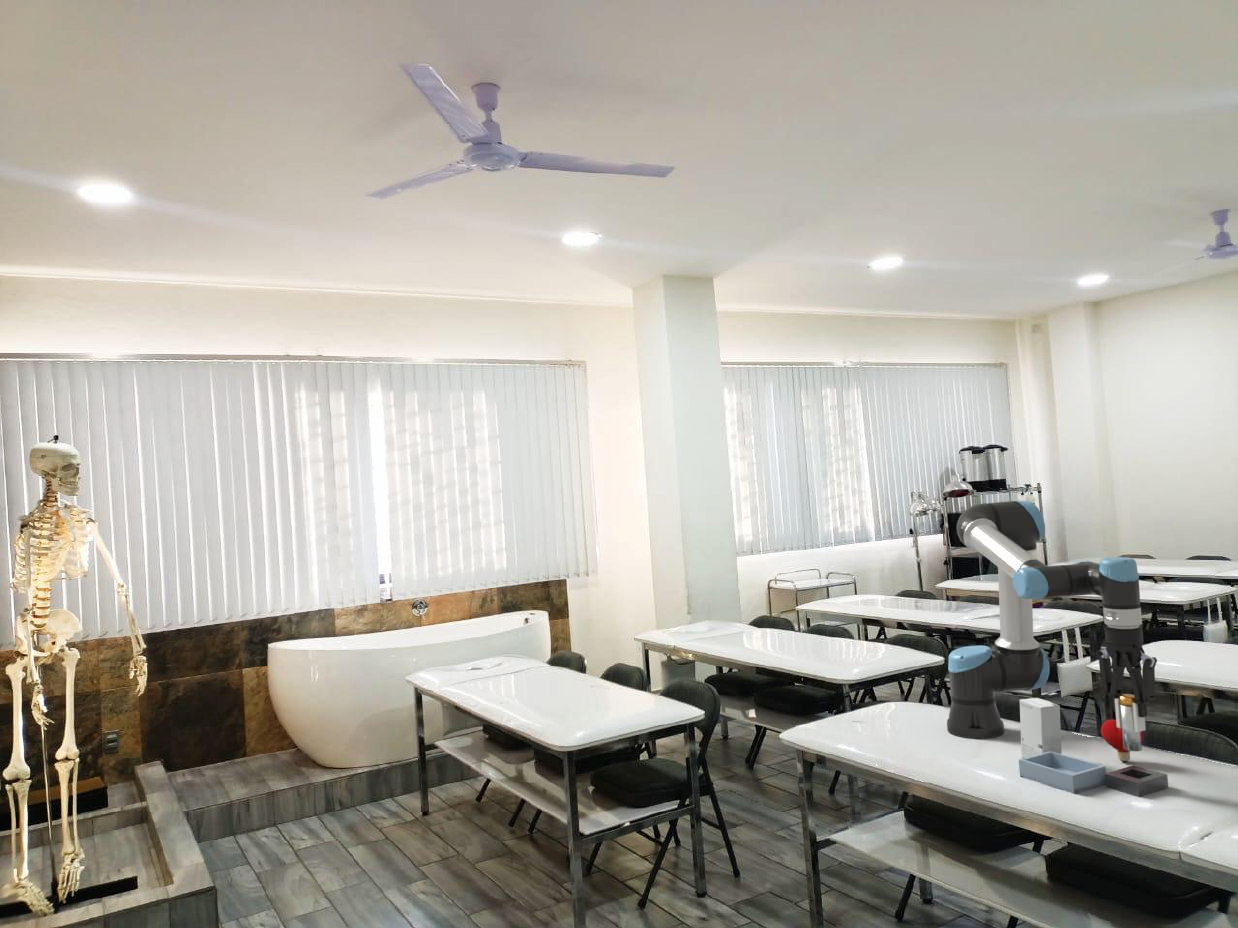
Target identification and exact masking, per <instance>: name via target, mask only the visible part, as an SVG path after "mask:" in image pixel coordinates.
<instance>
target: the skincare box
mask: <svg viewBox="0 0 1238 928" xmlns="http://www.w3.org/2000/svg"><path fill="white" fill-rule="evenodd" d="M1019 717H1020V718H1019V719H1020V721H1019V722H1020V724H1019V725H1020V752H1021V754H1020V755H1021V758H1022V759H1023V758H1026V757H1030V756H1034V755H1038V754H1041V753H1045V752H1049V751H1053V752H1056V753H1060V754H1062V753H1063V751H1062V733H1061V731H1062V729H1061V728H1062V727H1061V706H1060V705H1059V704H1056V703H1053V702H1051V701H1049V700H1046V699H1042V698H1039V697H1031V698H1022V699H1019Z"/></svg>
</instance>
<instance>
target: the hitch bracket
mask: <svg viewBox="0 0 1238 928" xmlns="http://www.w3.org/2000/svg"><path fill="white" fill-rule="evenodd" d="M1105 783H1106V784H1105V787H1106V788H1108V789H1111V790H1115V791H1119V792H1122V793H1126V794H1128V795H1131V796H1134V797H1138V798H1141V797H1143V796H1147V795H1150V794H1153V793H1156V792H1159V791H1162V790H1166V789H1168V788H1169V779H1168V774H1167V773H1164V772H1161V771H1156V770H1153V769H1150V768H1145V767H1141V766H1139V765H1138V766H1137V765H1135V764H1132V765H1130V766H1127V767H1123V768H1120V769H1117V770H1116V769H1115V770H1113V771H1109V772H1106V773H1105Z"/></svg>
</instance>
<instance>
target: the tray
mask: <svg viewBox="0 0 1238 928" xmlns="http://www.w3.org/2000/svg"><path fill="white" fill-rule="evenodd" d="M1018 766H1019V768H1018V769H1019V777H1021V776H1023V777H1022V778H1024V777H1026V778H1025V779H1027V778H1028V779H1027V780H1030V779H1031V780H1030V781H1033V780H1034V782H1036V781H1037V783H1039V782H1040V783H1039V784H1043V785H1045V784H1046V786H1049V787H1052V788H1055V789H1058V790H1062V791H1064V790H1065V792H1068V793H1070V792H1071V794H1073V795H1074V794H1077V793H1081V792H1084V791H1087V790H1091V789H1093V788H1097V787H1101V786H1103V785H1106V783H1105V773H1107V767H1106V766H1105V765H1103V764H1099V763H1095V762H1092V761H1088V760H1084V759H1082V758H1081V759H1080V758H1078V757H1074V756H1070V755H1066V754H1064V753H1063V754H1060V753H1056V752H1053V751H1049V752H1045V753H1041V754H1038V755H1034V756H1030V757H1026V758H1023V757H1022V758H1020V759H1018Z"/></svg>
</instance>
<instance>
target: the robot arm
mask: <svg viewBox="0 0 1238 928" xmlns="http://www.w3.org/2000/svg"><path fill="white" fill-rule="evenodd" d="M956 534H957V536H958V538H959V540H960V542H961V543H962V544H963V545H964V546H965V547H967V548H968V549H969V550H970V551H972V552H978V553H980V554H981V555H983V556H984V557H985V558H986V559H987V560H989V561H990V562H991V563H992V564H994V565H995V566H996V567H997V571H998V572H997V574H998V576H997V577H998V578H997V579H998V601H999V602H998V604H999V605H998V606H999V630H1000V631H999V633H1000V634H999V635H1000V636H999V637H998V638H997V639H996V640H995V642H994V649H993V650H992V649H991V647H990V646H986V645H968V646H963V647H958V648H955V649H954V650H952V651H951V652H950V654H949V655H948V666H947V668H948V675H949V686H950V687H949V688H950V696H951V697H950V699H951V705H950V709H949V713H948V718H947V720H946V728H947V729H946V731H947V732H949V734H952V735H954V736H958V737H961V738H969V739H989V738H990V739H991V738H996V737H1000V736H1002V735H1004V734H1005V724H1004V721H1003V720H1002V718H1001V715H1000V712H999V710H998V707H997V704H996V696H995V695H996V694H995V693H1005V692H1017V691H1018V692H1019V691H1024V692H1025V691H1031V690H1036V689H1039V688H1042V687H1043V686H1044V685H1045V684H1046V683H1047V681H1048V679H1049V675H1050V661H1049V658H1048V655H1047V652H1046V651H1045V650H1044V649H1043V648H1042V647H1040V642H1039V641H1037V640H1036V639H1035V637H1034V617H1033V616H1034V615H1033V614H1034V612H1033V600H1041V599H1052V598H1053V599H1054V598H1062V597H1063V598H1064V597H1077V596H1078V597H1079V596H1080V597H1081V596H1092V595H1093V596H1099V597H1101V602H1102V611H1103V622H1104V623H1103V624H1105V626H1104V636H1105V637H1104V639H1105V642H1106V646H1105V648H1104V649H1099V650H1098V649H1097V650H1096V651H1095V655H1096V658H1097V660H1098V665H1099V673H1100V681H1101V687H1102V692H1103V694H1105V695H1106V694H1107V695H1109V696H1110V698H1111V704H1112V705H1111V706H1112V710H1113V712H1115V720H1116V723H1117V727H1118V728H1122V722H1121V709H1120V697H1119V695H1121V694H1124V693H1123V687H1124V686H1123V685H1124V677H1125V676H1124V675H1125V670H1126V672H1127V673H1128V676H1129V678H1130V679H1129V680H1130V683H1131V688H1132V690H1133V692H1132V693H1133V695H1134V696H1135V700H1136V701H1134V702H1133V703H1132V705H1133V717H1134V730H1135V732H1141V731H1142V732H1144V731H1146V730H1147V729H1146V719H1145V718H1146V717H1148V706H1147V705H1148V704H1147V703H1148V702H1152V701H1155V700H1156V674H1155V673H1156V671H1155V667H1156V666H1157V662H1158V659H1157V658H1156V657H1155V656H1153V657H1151V656H1149V655H1148V654H1146V652H1145V650H1144V648H1143V644H1144V633H1143V627H1142V626H1141V625H1143V619H1142V608H1141V595H1140V594H1141V592H1140V575H1139V571H1138V566H1137V561H1136V560H1135V559H1134V558H1132V557H1123V556H1110V557H1103V558H1101V559H1100V560H1099V563H1098V562H1093V561H1089V560H1087V561H1077V562H1075V563H1073V564H1059V565H1046V564H1045V563H1043V562H1042V561H1040V560H1039V559H1038V558H1036V557H1035V556H1034V555H1033V553H1034V552H1035V551H1037V542H1040V541H1041V540H1042V541H1043V539H1044V536H1045V534H1046V524H1045V519H1044V517H1043V514H1042V512H1041V511H1040V509H1039V508H1038V506H1037V505H1036V504H1034V503H1033V502H1031V501H1028V500H1008V501H997V502H988V503H987V502H986V503H985V502H983V503H977V504H974V505H972V506H971V505H970V506H969V507H968V508H966V509H965V510H964V511H963V512H961V515H960V516H959V517H958V520H957V523H956ZM1141 661H1142V662H1141Z"/></svg>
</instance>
